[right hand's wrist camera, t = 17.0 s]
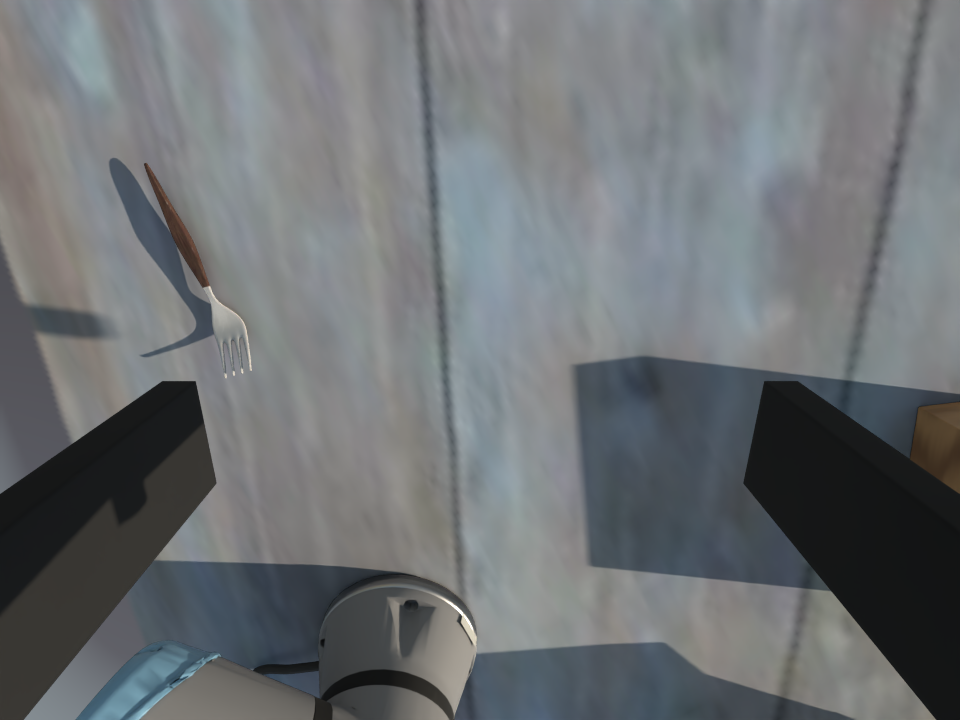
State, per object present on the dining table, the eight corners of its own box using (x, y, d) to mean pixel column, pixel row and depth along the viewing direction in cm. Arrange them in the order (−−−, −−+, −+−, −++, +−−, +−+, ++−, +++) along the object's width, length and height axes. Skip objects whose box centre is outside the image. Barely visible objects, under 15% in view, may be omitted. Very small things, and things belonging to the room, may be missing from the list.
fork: (166, 157, 37) (149, 157, 35) (263, 361, 42) (253, 370, 41) (133, 168, 37) (114, 169, 35) (233, 370, 43) (222, 379, 41)
